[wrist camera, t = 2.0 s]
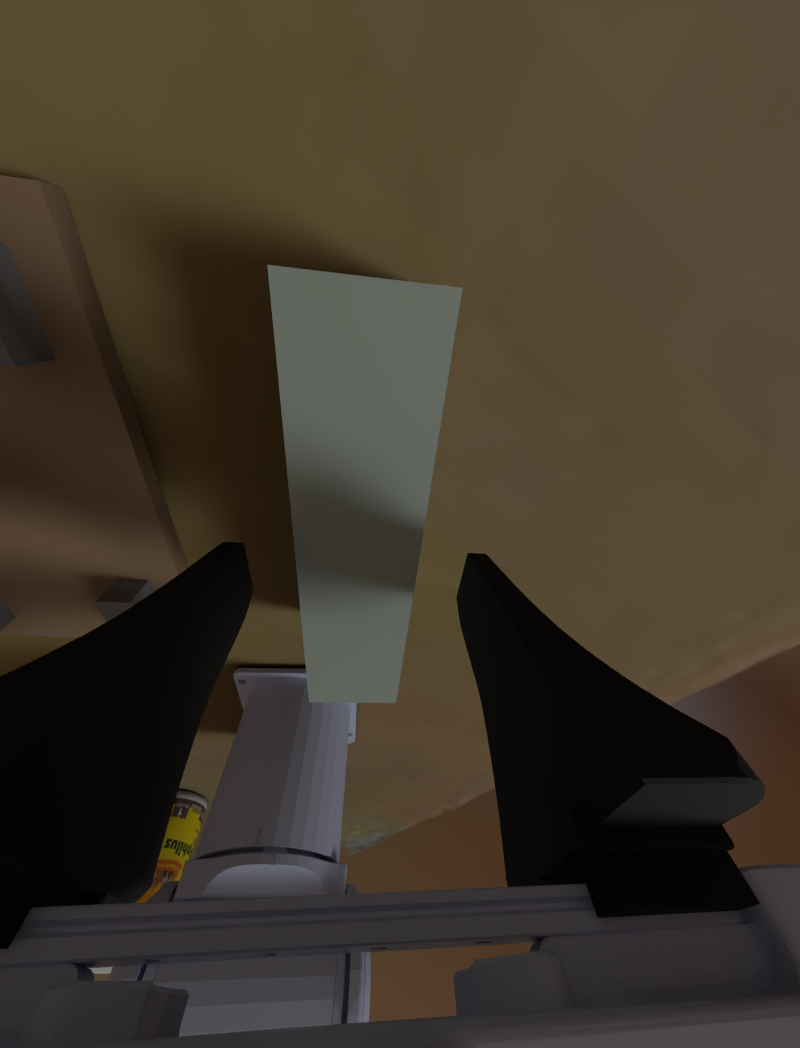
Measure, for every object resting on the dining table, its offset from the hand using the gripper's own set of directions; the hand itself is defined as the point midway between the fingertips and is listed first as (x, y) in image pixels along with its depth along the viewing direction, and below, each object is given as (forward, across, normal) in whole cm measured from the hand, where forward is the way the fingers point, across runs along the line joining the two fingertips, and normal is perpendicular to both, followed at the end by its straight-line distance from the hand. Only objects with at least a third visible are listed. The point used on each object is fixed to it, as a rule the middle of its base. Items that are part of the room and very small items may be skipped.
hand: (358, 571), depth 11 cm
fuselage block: (+6, 0, 0) cm, 6 cm away
